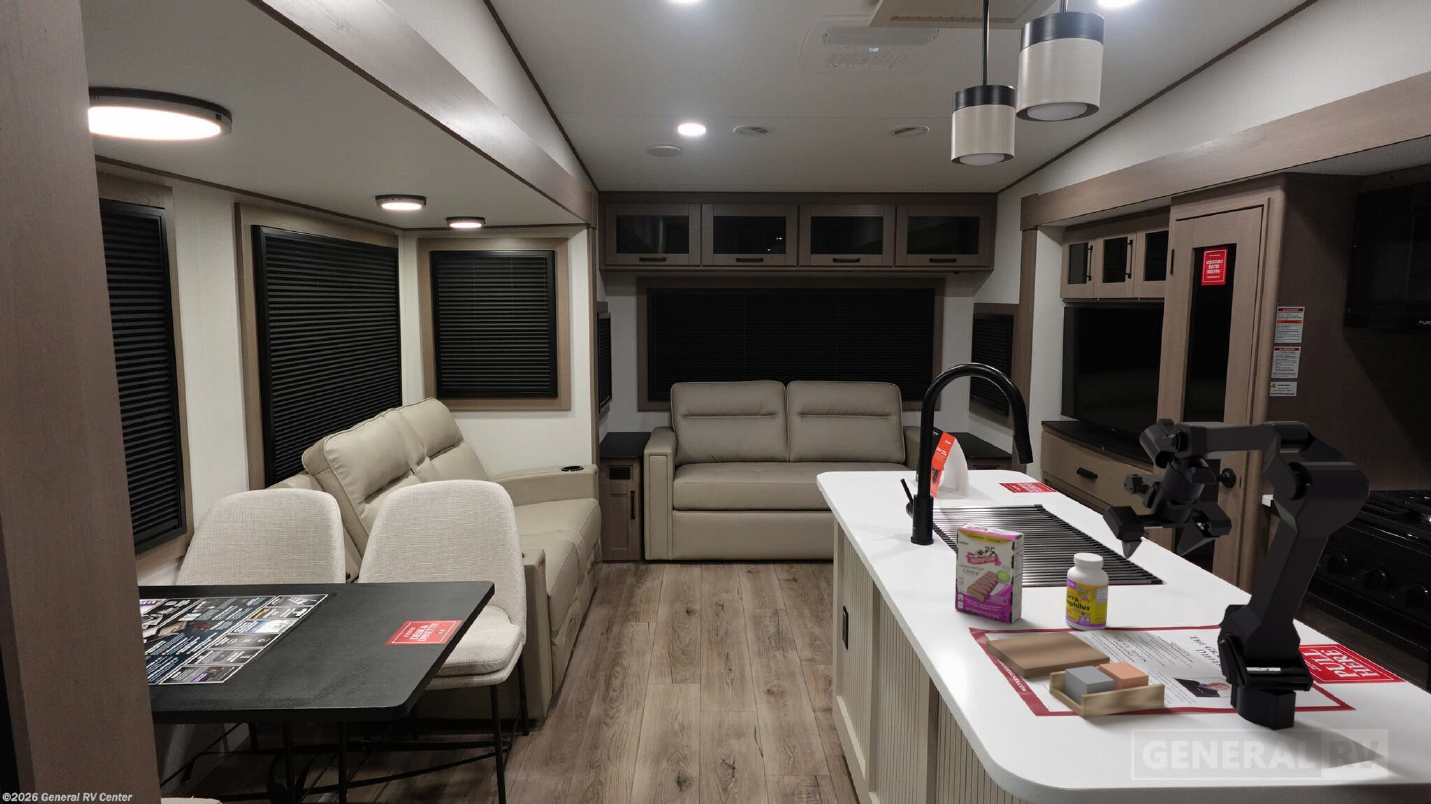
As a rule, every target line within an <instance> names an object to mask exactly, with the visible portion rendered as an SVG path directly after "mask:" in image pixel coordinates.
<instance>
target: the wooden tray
mask: <svg viewBox="0 0 1431 804" xmlns="http://www.w3.org/2000/svg"><path fill="white" fill-rule="evenodd" d="M1095 668H1096V669H1098V670H1099V666H1097V667H1095ZM1165 687H1166V685H1165V684H1164V683H1155V684H1150V685H1149V684H1148V686H1141V687H1135V688H1128V689H1121V690H1114V691H1107V692H1101V693H1094V694H1087V695H1081V706H1080V705H1078V704H1077V703H1075V702H1074V701H1073V700H1071V699H1070V698H1069V697H1067V696H1066V695H1065V694H1064V693H1065V671H1061V672H1054V673H1050V675H1049V694H1050V695H1051V696H1053V697H1054V698H1055V699H1057V700H1058V701H1059V702H1061V703H1062V704H1063V705H1065V706H1067V708H1068V709H1070V710H1071V711H1072V712H1074V713H1076V715H1078V716H1080V717H1081V718H1082V719H1087V718H1088V719H1089V718H1093V717H1101V716H1106V715H1113V714H1114V715H1115V714H1119V713H1120V714H1121V713H1127V712H1133V711H1134V712H1135V711H1140V710H1145V709H1152V708H1158V707H1165V692H1166V691H1165V690H1166V688H1165Z"/></svg>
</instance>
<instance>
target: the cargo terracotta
mask: <svg viewBox="0 0 1431 804" xmlns="http://www.w3.org/2000/svg"><path fill="white" fill-rule="evenodd" d="M1099 671H1101V672H1102V673H1104V674H1106V675H1107V676H1109V677H1110V678H1112V679H1113V680H1114V690H1121V689H1128V688H1135V687H1141V686H1148V685H1149V680H1150V675H1149V674H1147V673H1146V672H1144V671H1142V670H1141V669H1139V668H1138V667H1136V666H1134V665H1132V664H1131V663H1129V662H1127V661H1126V660H1123V661H1116V662H1110V663H1108V664H1101V665H1099Z"/></svg>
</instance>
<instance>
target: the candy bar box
mask: <svg viewBox="0 0 1431 804" xmlns="http://www.w3.org/2000/svg"><path fill="white" fill-rule="evenodd" d="M1024 549H1025V534H1024V533H1022V532H1018V531H1017V532H1016V531H1012V530H1007V529H1003V528H997V527H992V526H987V525H982V524H976V523H972V522H965V523H964V524H962V525H959V526H958V527H957V528H956V550H955V551H956V552H955V553H956V554H955V555H956V556H955V557H956V559H955V560H956V561H955V564H956V565H955V592H954V593H955V594H954V595H955V596H954V597H955V598H954V599H955V600H954V609H955V610H958V611H961V612H964V613H969V614H971V615H975V616H979V617H983V618H985V619H990V620H994V621H997V622H1001V623H1004V624H1009V625H1013V624H1015V623H1016V621H1018V620H1019V619H1020V618H1022V609H1023V608H1022V606H1023V605H1022V604H1023V603H1022V602H1023V600H1022V599H1023V579H1024V578H1023V576H1024Z"/></svg>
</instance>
